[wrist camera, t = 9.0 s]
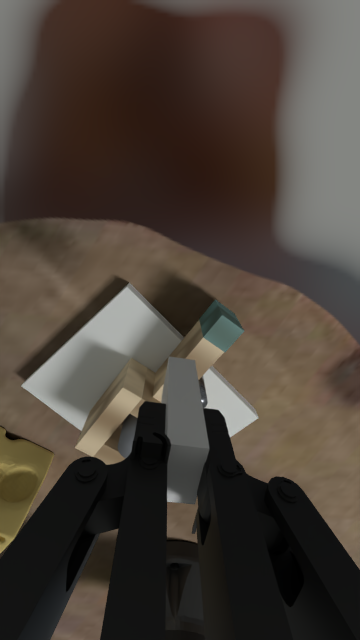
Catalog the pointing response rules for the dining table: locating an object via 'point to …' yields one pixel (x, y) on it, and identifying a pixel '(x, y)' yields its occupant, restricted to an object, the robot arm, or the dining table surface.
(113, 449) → the wooden frame with handle
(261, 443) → the dining table surface
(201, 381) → the dowel
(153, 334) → the base
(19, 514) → the cheese
